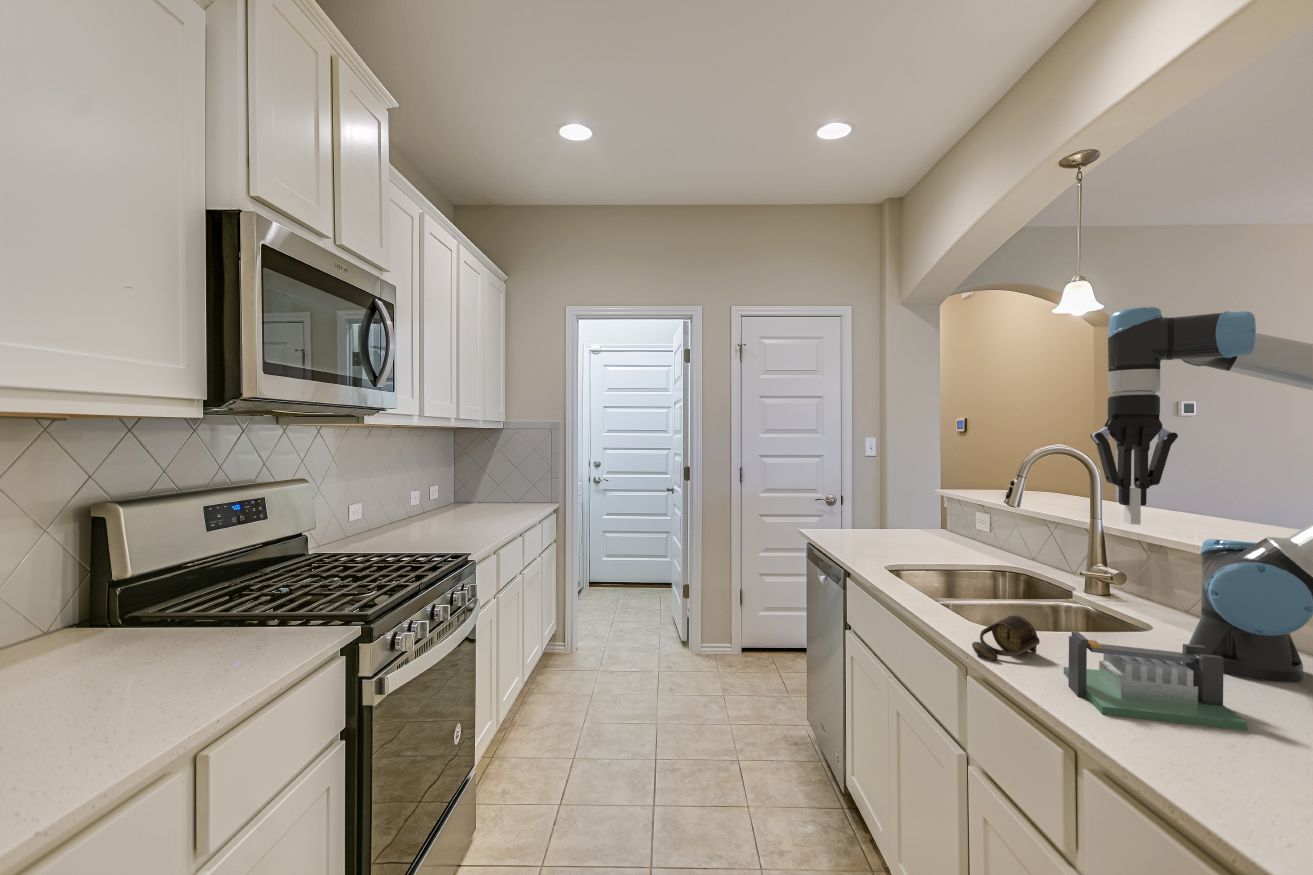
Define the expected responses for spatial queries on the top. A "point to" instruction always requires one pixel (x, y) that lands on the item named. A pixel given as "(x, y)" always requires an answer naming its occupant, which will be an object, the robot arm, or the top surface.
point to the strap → (1142, 652)
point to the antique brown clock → (1008, 638)
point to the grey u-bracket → (1207, 675)
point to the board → (1157, 707)
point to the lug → (1078, 663)
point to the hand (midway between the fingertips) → (1132, 523)
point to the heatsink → (1149, 679)
